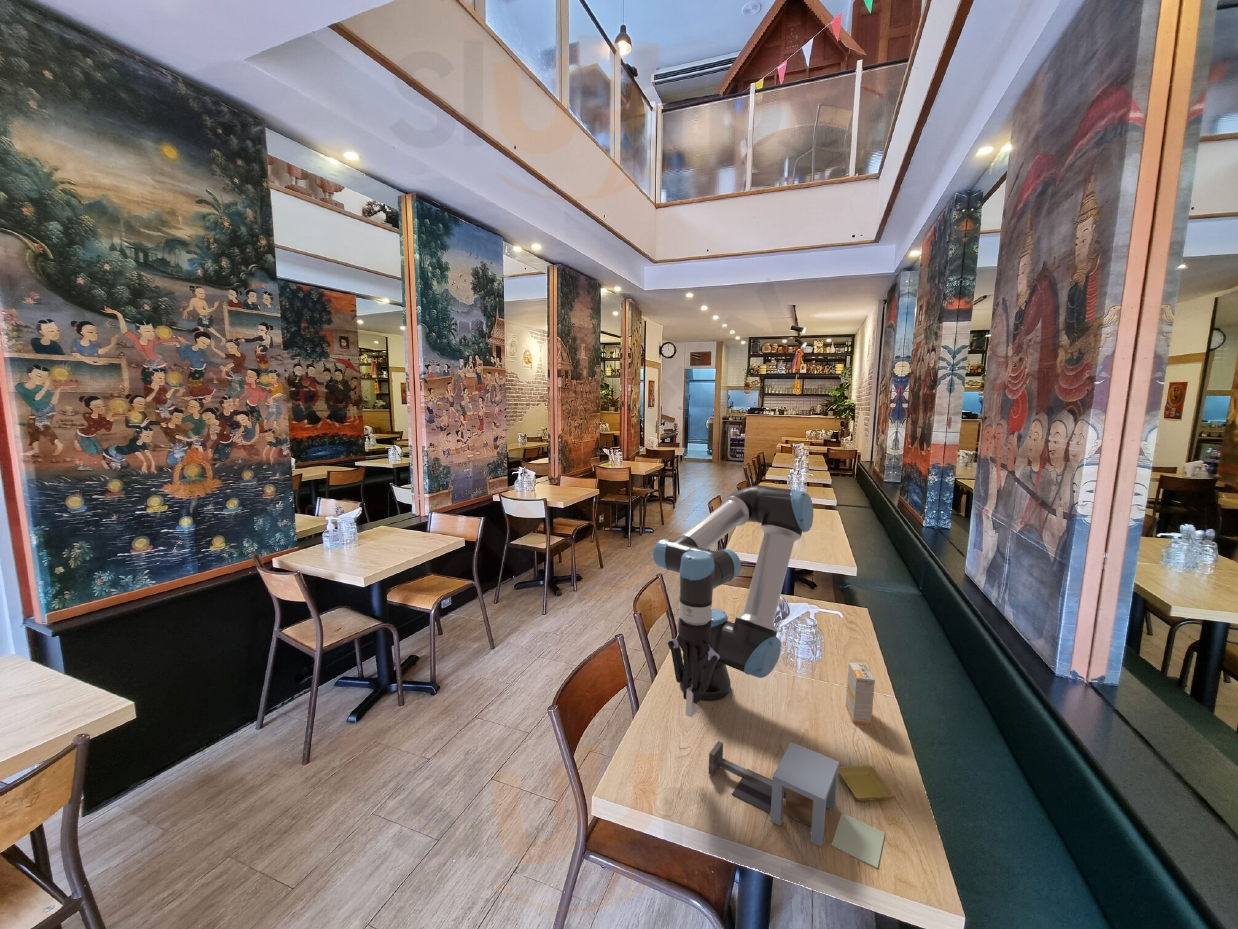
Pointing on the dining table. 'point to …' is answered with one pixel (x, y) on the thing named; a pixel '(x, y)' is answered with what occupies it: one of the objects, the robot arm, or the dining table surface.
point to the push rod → (763, 785)
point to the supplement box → (860, 693)
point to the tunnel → (806, 785)
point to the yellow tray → (865, 783)
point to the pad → (859, 840)
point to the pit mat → (753, 794)
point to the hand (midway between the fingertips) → (691, 713)
